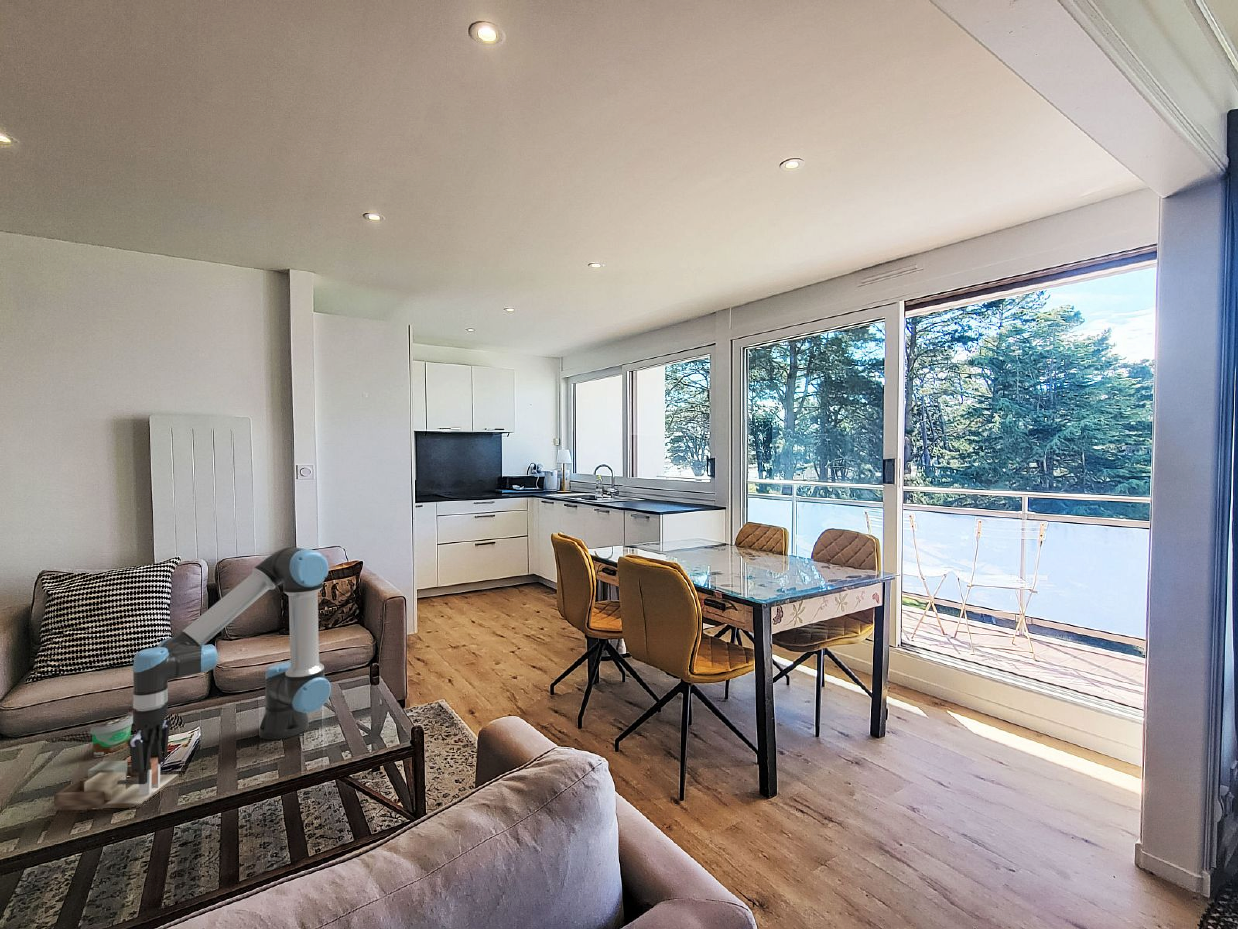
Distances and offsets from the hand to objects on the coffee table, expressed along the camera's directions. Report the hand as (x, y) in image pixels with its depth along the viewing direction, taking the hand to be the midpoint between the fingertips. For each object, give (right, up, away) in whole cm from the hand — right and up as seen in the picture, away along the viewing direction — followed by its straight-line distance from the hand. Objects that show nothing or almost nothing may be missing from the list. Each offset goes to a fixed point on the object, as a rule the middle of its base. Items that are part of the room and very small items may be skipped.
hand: (149, 790), depth 163 cm
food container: (-32, -3, +27) cm, 42 cm away
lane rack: (-11, -2, +3) cm, 12 cm away
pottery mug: (-38, -3, +45) cm, 59 cm away
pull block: (-7, -1, 0) cm, 7 cm away
